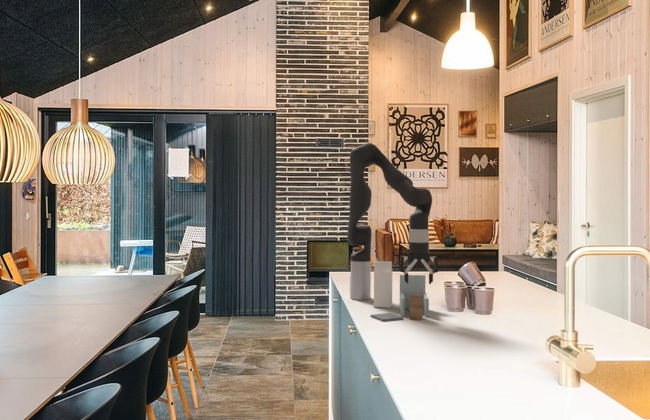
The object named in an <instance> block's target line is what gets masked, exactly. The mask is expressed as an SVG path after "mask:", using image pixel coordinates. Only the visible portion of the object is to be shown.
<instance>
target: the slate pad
mask: <svg viewBox="0 0 650 420" xmlns="http://www.w3.org/2000/svg"><path fill="white" fill-rule="evenodd" d="M370 318H373V319H374V320H378V321H380V322H389V321H390V322H391V321H401V320H404V317H401V315H398V314H394V313H392V312H384V313H375V314H370Z"/></svg>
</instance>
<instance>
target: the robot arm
mask: <svg viewBox="0 0 650 420" xmlns="http://www.w3.org/2000/svg"><path fill="white" fill-rule="evenodd" d="M373 165H375V166H377V167H378V168H380V170H381V172H382V174H383V178H384V180H385V182H386V184H387V185H388V186H389V187H391V188H392V189H393V190H394V191H395V192H396V193H398V194H399V196H400V197H401V198H402V200H403V201H404V202H405V203H406V204H407V205H408V206H410V207H413V208H415V209H414V212H413V213H411V214H410V216H409V231H408V232H409V233H408V255H407V256H406V255H401V256H400V261H399V262H400V263H399V271H400V273H404V274H403V275H405V282H406V283H408V275H409V272H410V271H411V270H412V268H415V269H418V268H421V269H423V268H426V270H427V271H428V272H429V273H428V284H429V285H431V284H432V283H433V282H434V274H436V273H439V266H438V265H439V264H438V263H439V262H438V257H437V256H436V255H434V256H430V233H429V232H430V231H429V217H430V215H431V209H432V204H433V197H432V193H431V190H429V189H428V188H425V187H424V188H423V187H422V188H421V187H420V188H419V187H418V188H417V187H415V186H414V183H413V180H412V179H411V178H410V177H408V176H407V175H405V174H404V172H403V173H402V172H401V170H399V169H398V168H397V167H395V165H394V164H393V163H392V162H391V161H390V160H389V158H388V157H387V156H386V155H385V154H384V153H383V152H382V151H381V149H380V148H378V147H377V146H376V145H375V144H374V143H371V142H367V143H366V142H365V143H363V144H361V145H359V146H357V147H353V149H351V151H350V154H349V167H350V168H349V169H350V171H349V172H350V190H349V191H350V192H349V193H350V194H349V217H348V226H347V232H346V233H347V237H346V239H347V244H348V245H349V246H359V247H360V246H361V247H363V248H362V249H360V250H359V251H357V252H353V253H351V255H350V276H349V298H350V299H352V300H358V301H364V300H370V299H371V297H372V296H371V294H372V293H371V292H372V287H371V285H372V281H371V280H372V278H371V277H372V276H371V275H372V273H371V272H372V266H371V265H372V258H371V257H372V235H373V234H372V227H371V226H370V225H366V224H365V225H363V224H362V225H359V224H358V223H359V221H360V219H362V217H363V216H364V215H365V214H367V212H368V211H369V209H370V207H371V206H372V205H371V204H372V190H371V188H370V185H369V184H368V183H367V182H366V180H365V169H366V168H368V167H371V166H373ZM407 260H408V262H409V263H408V265H407V267H406V268H404V263H406V261H407ZM430 260H431V262H432V263H433V269H432V267H430V265H429V264H428V263H429V262H430Z"/></svg>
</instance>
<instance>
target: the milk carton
mask: <svg viewBox="0 0 650 420" xmlns="http://www.w3.org/2000/svg"><path fill="white" fill-rule="evenodd" d="M392 306H393V262H392V261H385V260H384V261H380V260H375V261H374V271H373V307H374V308H388V309H389V308H390V309H391V307H392Z"/></svg>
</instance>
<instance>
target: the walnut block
mask: <svg viewBox="0 0 650 420" xmlns="http://www.w3.org/2000/svg"><path fill="white" fill-rule="evenodd" d="M423 314H424V312H423V296H422V294H410V309H409V320H410V321H423V319H424V318H423Z"/></svg>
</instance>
